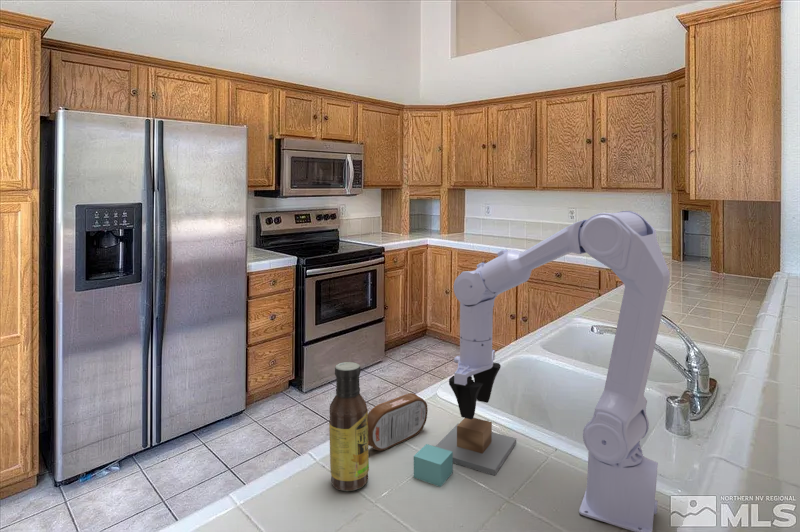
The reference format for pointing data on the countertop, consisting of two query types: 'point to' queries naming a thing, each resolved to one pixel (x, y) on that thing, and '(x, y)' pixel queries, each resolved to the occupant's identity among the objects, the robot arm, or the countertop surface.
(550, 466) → the countertop surface
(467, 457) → the baseplate
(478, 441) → the walnut brick
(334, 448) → the sauce bottle
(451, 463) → the teal brick
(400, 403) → the tin
